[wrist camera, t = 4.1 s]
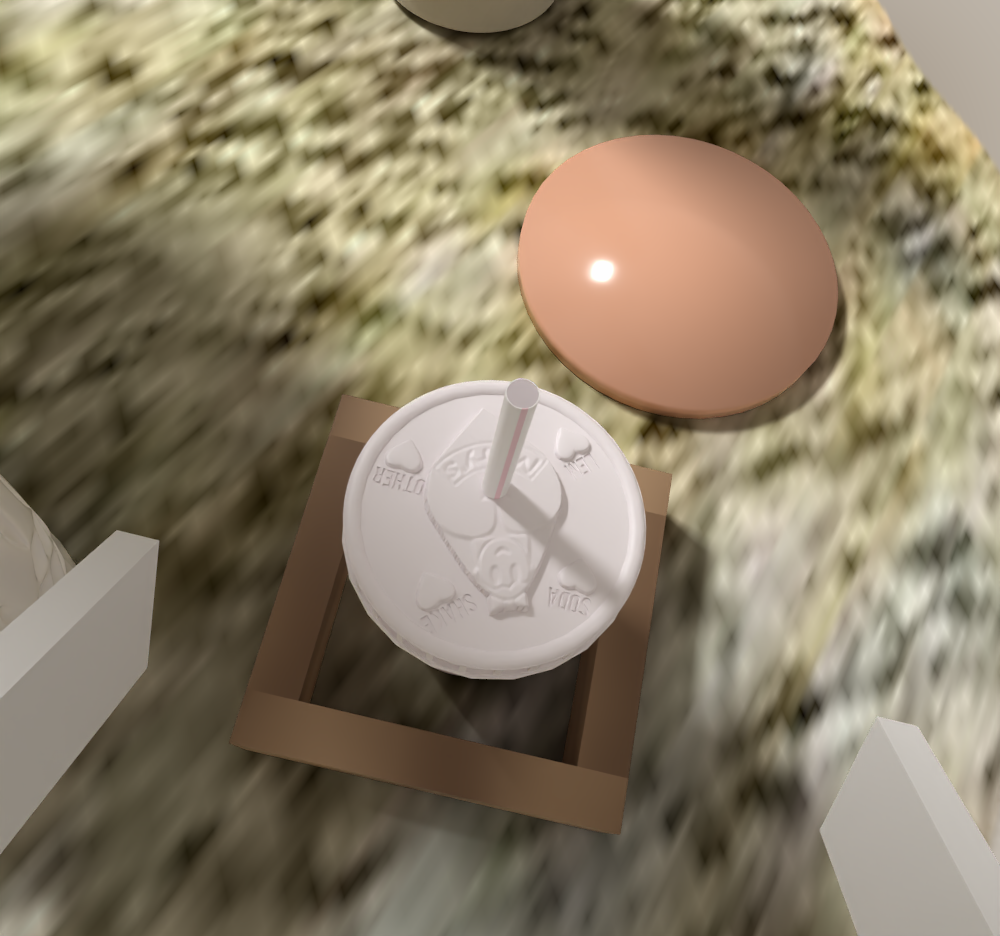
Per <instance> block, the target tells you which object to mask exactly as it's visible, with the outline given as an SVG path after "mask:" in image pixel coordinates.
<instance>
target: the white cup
mask: <svg viewBox="0 0 1000 936" xmlns="http://www.w3.org/2000/svg"><path fill="white" fill-rule="evenodd" d="M75 566H76V564H75V563H74V561H73V560H72V558H71V557H70V555H69V554H68V553H67V551H66V550H65V548H64V547H63V545H62V544H61V542H60V541H59V540H58V539H57V538H56V537H55V536H54V535H53V534H52V533H51V532H50V531H49V529H48V527H47V526H46V524H45V523H44V522H43V521H42V519H41V518H40V517H39V516H38V515H37V514H36V513H35V512H34V510H33V509H32V508H31V507H30V506H29V505H28V504H27V503H26V502H25V501H24V499H23V498H22V497H21V496H20V495H19V494H18V492H17V491H16V490H15V489H14V488H13V487H12V486H11V485H10V484H9V483H8V482H7V480H6V479H5V478H4V477H3V476H2V475H1V474H0V632H1V631H2V630H4V629H5V628H6V627H7V626H8V625H9V624H10V623H12V622H13V621H14V620H15V619H16V618H17V617H18V616H19V615H21V614H22V613H23V612H24V611H25V610H26V609H27V608H29V607H30V606H31V605H32V604H33V603H34V602H35V601H37V600H38V599H39V598H40V597H41V596H42V595H43V594H45V593H46V592H47V591H48V590H49V589H50V588H51V587H53V586H54V585H55V584H56V583H57V582H58V581H59V580H60V579H62V578H63V577H64V576H65V575H66V574H67V573H68V572H70V571H71V570H72V569H73V568H74V567H75Z"/></svg>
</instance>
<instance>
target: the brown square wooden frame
mask: <svg viewBox="0 0 1000 936" xmlns="http://www.w3.org/2000/svg"><path fill="white" fill-rule="evenodd" d="M399 409H400V408H398V407H394V406H390V405H386V404H382V403H377V402H373V401H369V400H365V399H361V398H357V397H353V396H349V395H345V394H342V397H341V400H340V403H339V406H338V409H337V412H336V415H335V418H334V421H333V425H332V428H331V431H330V434H329V437H328V440H327V443H326V446H325V449H324V452H323V455H322V458H321V461H320V464H319V467H318V471H317V474H316V477H315V480H314V483H313V486H312V489H311V492H310V495H309V498H308V501H307V504H306V507H305V510H304V514H303V517H302V520H301V523H300V526H299V529H298V532H297V535H296V538H295V541H294V544H293V547H292V550H291V553H290V556H289V560H288V563H287V566H286V569H285V572H284V575H283V578H282V581H281V584H280V587H279V590H278V593H277V596H276V599H275V602H274V606H273V609H272V612H271V615H270V618H269V621H268V624H267V627H266V630H265V633H264V636H263V639H262V642H261V645H260V648H259V652H258V655H257V658H256V661H255V664H254V667H253V670H252V673H251V676H250V679H249V682H248V685H247V688H246V691H245V695H244V698H243V701H242V704H241V707H240V710H239V713H238V716H237V719H236V722H235V725H234V728H233V731H232V734H231V737H230V741H229V743H230V744H233V745H235V746H237V747H240V748H242V749H245V750H249V751H253V752H257V753H262V754H266V755H270V756H275V757H279V758H283V759H287V760H292V761H296V762H300V763H305V764H309V765H313V766H317V767H322V768H326V769H330V770H335V771H339V772H343V773H347V774H352V775H356V776H360V777H364V778H369V779H373V780H377V781H382V782H386V783H390V784H394V785H399V786H403V787H407V788H412V789H416V790H420V791H424V792H429V793H433V794H437V795H441V796H446V797H450V798H454V799H459V800H463V801H467V802H471V803H476V804H480V805H484V806H489V807H493V808H497V809H501V810H506V811H510V812H514V813H519V814H523V815H527V816H531V817H536V818H540V819H544V820H548V821H553V822H557V823H561V824H566V825H570V826H574V827H578V828H583V829H587V830H591V831H596V832H601V833H611V834H620V833H621V826H622V819H623V812H624V805H625V798H626V791H627V785H628V778H629V771H630V764H631V757H632V750H633V743H634V736H635V729H636V722H637V715H638V708H639V701H640V695H641V688H642V681H643V674H644V667H645V660H646V653H647V646H648V639H649V632H650V625H651V618H652V611H653V604H654V598H655V591H656V584H657V577H658V570H659V563H660V556H661V549H662V542H663V535H664V528H665V521H666V514H667V507H668V501H669V494H670V487H671V480H672V474H669V473H665V472H661V471H657V470H653V469H648V468H644V467H640V466H636V465H632V464H630V466H631V468H632V470H633V472H634V474H635V477H636V480H637V482H638V485H639V488H640V491H641V495H642V499H643V504H644V510H645V518H646V542H645V550H644V557H643V561H642V565H641V569H640V572H639V575H638V578H637V580H636V583H635V585H634V587H633V589H632V591H631V593H630V595H629V597H628V599H627V601H626V602H625V604H624V605H623V607H622V608H621V610H620V611H619V613H618V614H617V616H616V618H615V620H614V622H613V623H612V624H611V625H610V626H609V627H608V628H607V629H606V630H605V631H604V632H603V633H602V634H601V635H600V636H599V637H598V638H597V639H596V641H595V642H594V643H593V644H592V645H591V646H590V647H589V648H588V649H587V650H585V651H583V652H582V653H581V658H580V664H579V669H578V675H577V681H576V686H575V692H574V698H573V704H572V709H571V715H570V721H569V726H568V732H567V738H566V744H565V749H564V755H563V761H562V763H561V762H556V761H552V760H548V759H544V758H539V757H535V756H531V755H527V754H522V753H518V752H514V751H510V750H505V749H501V748H497V747H493V746H488V745H484V744H480V743H476V742H471V741H467V740H463V739H459V738H454V737H450V736H446V735H442V734H437V733H433V732H429V731H425V730H420V729H416V728H412V727H408V726H403V725H399V724H395V723H391V722H386V721H382V720H378V719H374V718H369V717H365V716H361V715H357V714H352V713H348V712H344V711H340V710H335V709H331V708H327V707H323V706H318V705H314V704H310V701H311V698H312V694H313V691H314V688H315V684H316V681H317V677H318V674H319V671H320V667H321V664H322V660H323V657H324V654H325V650H326V647H327V644H328V640H329V637H330V633H331V630H332V627H333V623H334V620H335V616H336V613H337V610H338V606H339V603H340V599H341V596H342V593H343V589H344V586H345V582H346V579H347V576H348V569H347V564H346V560H345V555H344V550H343V545H342V532H343V508H344V499H345V494H346V489H347V485H348V481H349V478H350V475H351V472H352V470H353V467H354V465H355V463H356V460H357V458H358V457H359V455H360V453H361V451H362V449H363V448H364V446H365V445H366V443H367V442H368V440H369V439H370V438H371V436H372V435H373V434H374V433H375V431H376V430H377V429H378V428H379V427H380V426H381V425H382V424H383V423H384V422H385V421H386V420H387V419H388V418H389V417H390V416H391V415H393V414H394V413H395V412H396V411H398V410H399Z"/></svg>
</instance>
